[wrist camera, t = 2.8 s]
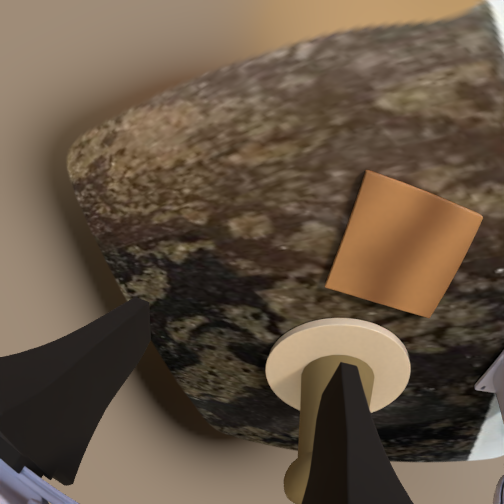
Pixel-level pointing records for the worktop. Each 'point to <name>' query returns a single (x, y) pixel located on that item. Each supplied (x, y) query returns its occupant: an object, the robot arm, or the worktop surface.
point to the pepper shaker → (311, 392)
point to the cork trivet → (401, 245)
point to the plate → (339, 343)
